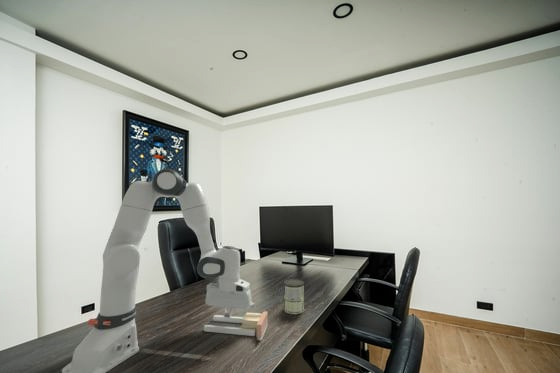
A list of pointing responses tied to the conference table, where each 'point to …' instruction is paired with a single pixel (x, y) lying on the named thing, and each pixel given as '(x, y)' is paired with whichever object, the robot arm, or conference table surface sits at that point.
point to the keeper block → (251, 321)
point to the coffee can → (293, 296)
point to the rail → (222, 329)
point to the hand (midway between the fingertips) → (227, 317)
